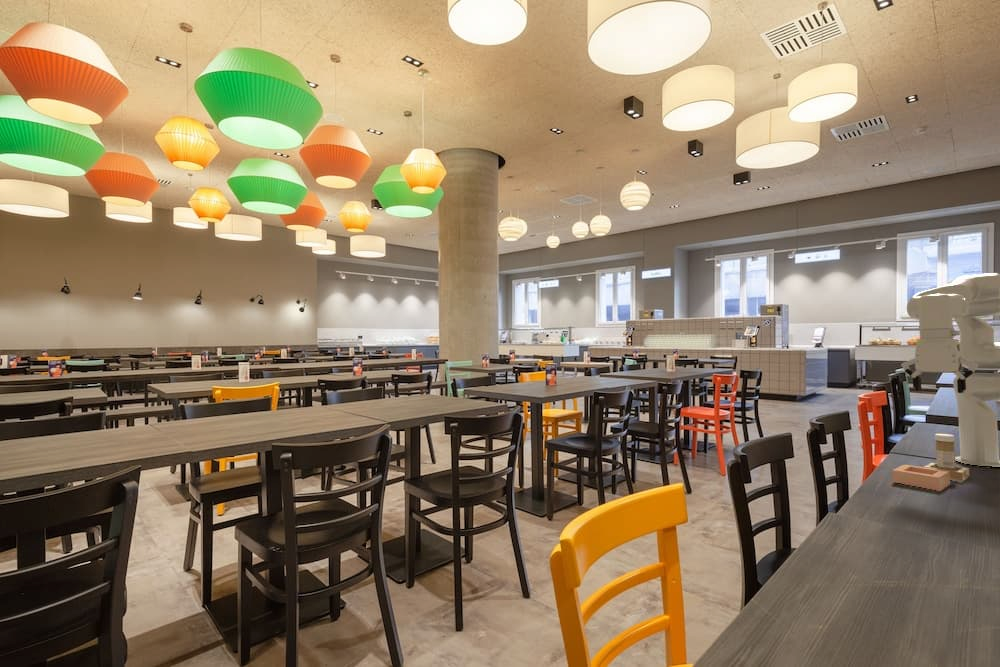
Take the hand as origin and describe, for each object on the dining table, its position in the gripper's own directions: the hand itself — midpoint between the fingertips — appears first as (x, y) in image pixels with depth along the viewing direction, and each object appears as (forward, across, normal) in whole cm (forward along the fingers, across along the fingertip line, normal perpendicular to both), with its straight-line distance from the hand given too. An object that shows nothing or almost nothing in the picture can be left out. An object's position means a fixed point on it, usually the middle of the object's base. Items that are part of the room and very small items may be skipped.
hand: (939, 391), depth 144 cm
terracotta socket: (+28, +4, +4) cm, 29 cm away
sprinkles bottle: (+28, +2, -12) cm, 31 cm away
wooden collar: (+28, +2, -12) cm, 30 cm away
